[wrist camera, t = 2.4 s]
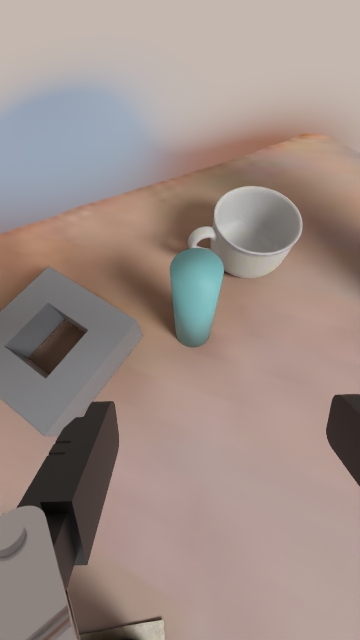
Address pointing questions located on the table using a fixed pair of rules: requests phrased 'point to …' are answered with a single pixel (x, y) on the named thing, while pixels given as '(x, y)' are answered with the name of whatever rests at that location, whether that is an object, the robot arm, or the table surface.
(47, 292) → the well block
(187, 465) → the table surface
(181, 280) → the peg
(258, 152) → the table surface
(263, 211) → the teacup
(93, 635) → the condiment
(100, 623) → the table surface
